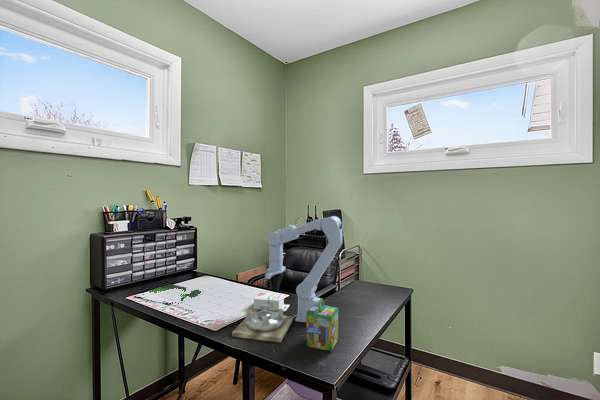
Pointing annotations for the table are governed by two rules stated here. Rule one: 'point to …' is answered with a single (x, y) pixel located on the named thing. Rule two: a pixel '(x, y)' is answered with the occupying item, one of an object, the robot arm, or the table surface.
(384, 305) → the table surface
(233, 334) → the base plate
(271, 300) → the ink cartridge box
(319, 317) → the chalk box
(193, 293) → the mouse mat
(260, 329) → the clear bowl
